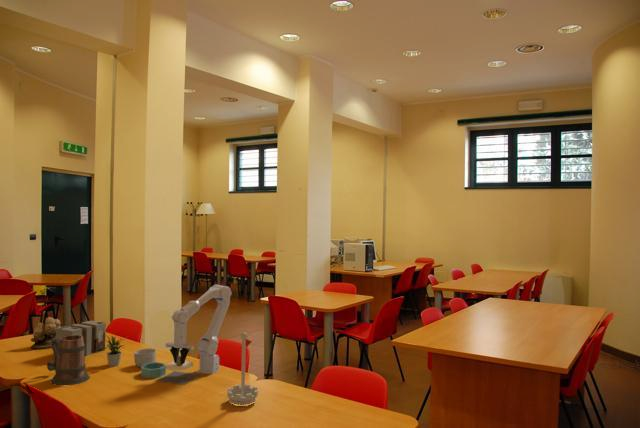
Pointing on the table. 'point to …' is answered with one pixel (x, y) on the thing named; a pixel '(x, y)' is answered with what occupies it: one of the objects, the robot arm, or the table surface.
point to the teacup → (144, 356)
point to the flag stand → (243, 382)
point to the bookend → (86, 335)
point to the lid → (179, 365)
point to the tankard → (68, 361)
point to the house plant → (113, 351)
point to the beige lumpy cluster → (45, 334)
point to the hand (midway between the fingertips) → (179, 363)
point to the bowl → (153, 370)
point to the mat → (178, 378)
